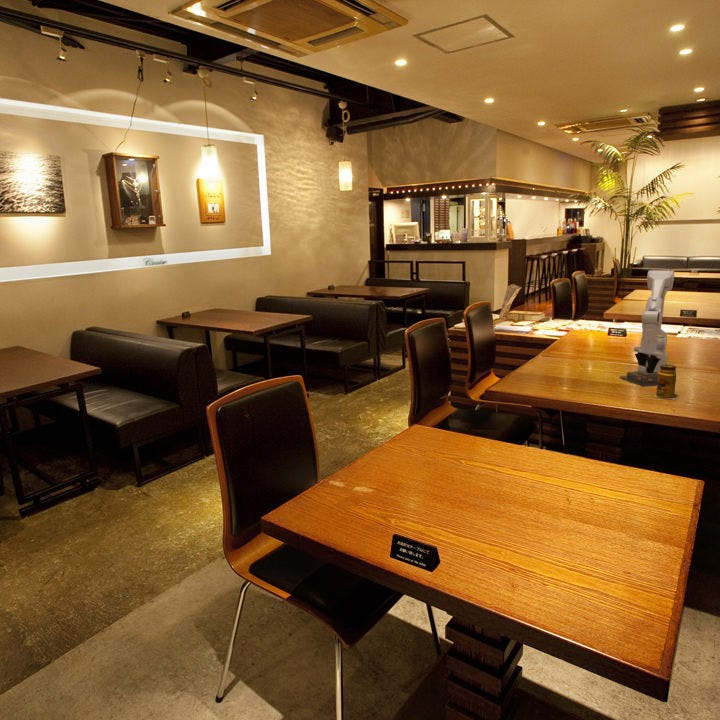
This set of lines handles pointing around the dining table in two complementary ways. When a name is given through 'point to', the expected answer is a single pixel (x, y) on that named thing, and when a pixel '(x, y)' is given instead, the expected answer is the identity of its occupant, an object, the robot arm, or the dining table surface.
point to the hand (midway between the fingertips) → (646, 371)
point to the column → (644, 370)
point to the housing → (641, 379)
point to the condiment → (666, 382)
